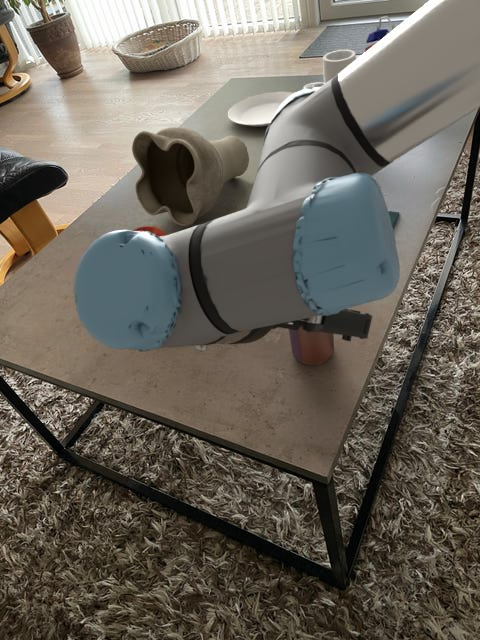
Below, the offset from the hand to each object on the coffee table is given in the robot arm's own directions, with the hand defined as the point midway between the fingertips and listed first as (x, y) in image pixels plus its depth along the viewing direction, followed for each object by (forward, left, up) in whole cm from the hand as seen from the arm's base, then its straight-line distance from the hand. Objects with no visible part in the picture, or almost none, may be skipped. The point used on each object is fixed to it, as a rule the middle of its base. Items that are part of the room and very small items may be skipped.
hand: (302, 310), depth 62 cm
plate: (+42, -77, -10) cm, 88 cm away
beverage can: (0, -2, -10) cm, 10 cm away
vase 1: (+36, -36, -10) cm, 52 cm away
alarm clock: (+12, -86, -10) cm, 87 cm away
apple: (+32, -9, -10) cm, 35 cm away
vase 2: (+18, -60, -10) cm, 63 cm away
